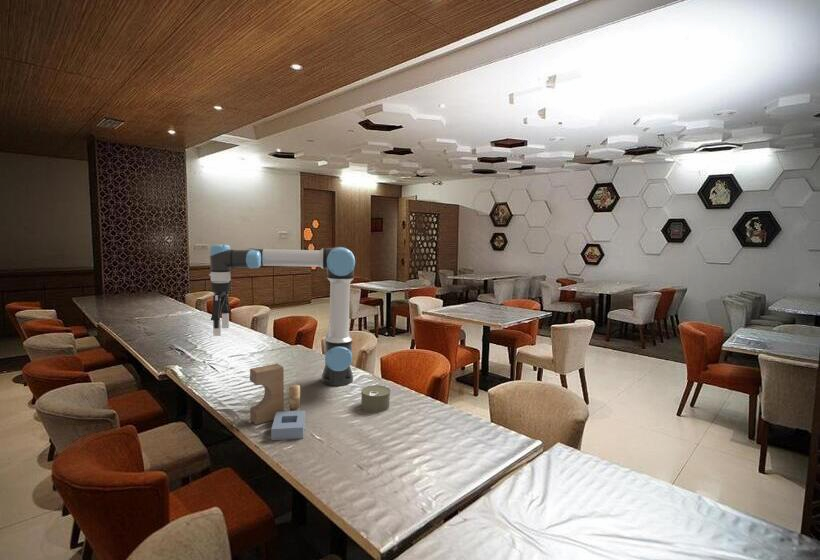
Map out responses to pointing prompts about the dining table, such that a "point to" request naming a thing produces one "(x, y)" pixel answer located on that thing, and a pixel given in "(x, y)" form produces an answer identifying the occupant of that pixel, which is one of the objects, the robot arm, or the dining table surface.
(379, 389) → the can
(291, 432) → the board
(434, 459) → the dining table surface
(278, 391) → the decorative block
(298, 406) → the peg
